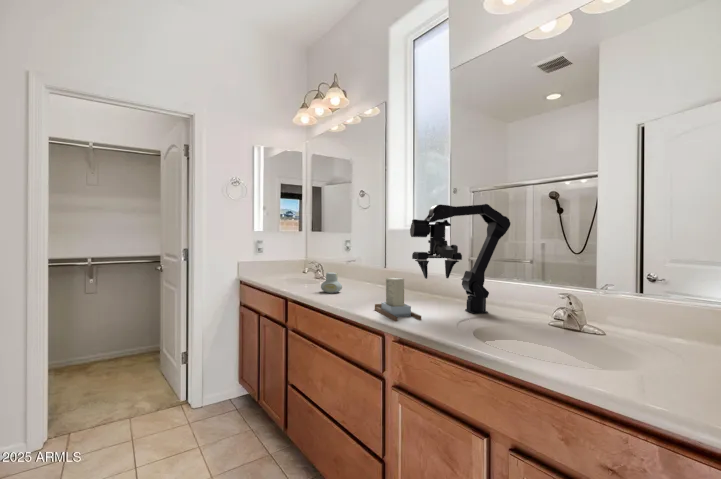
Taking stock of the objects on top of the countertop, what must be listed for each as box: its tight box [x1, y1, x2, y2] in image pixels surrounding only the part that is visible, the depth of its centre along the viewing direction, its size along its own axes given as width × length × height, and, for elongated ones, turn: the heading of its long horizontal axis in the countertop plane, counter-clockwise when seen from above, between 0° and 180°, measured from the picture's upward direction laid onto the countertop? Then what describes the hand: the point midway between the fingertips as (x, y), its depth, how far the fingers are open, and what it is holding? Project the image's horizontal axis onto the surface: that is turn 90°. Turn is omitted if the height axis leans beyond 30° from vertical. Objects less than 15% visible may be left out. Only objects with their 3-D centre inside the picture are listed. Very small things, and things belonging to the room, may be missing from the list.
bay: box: [374, 303, 422, 322], centre depth 129 cm, size 10×20×2 cm, turn 18°
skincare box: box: [385, 277, 405, 307], centre depth 129 cm, size 6×4×12 cm
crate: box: [380, 301, 412, 318], centre depth 129 cm, size 8×10×4 cm
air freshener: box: [320, 272, 343, 294], centre depth 180 cm, size 11×8×10 cm
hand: (436, 278), depth 135 cm, fingers open, 9 cm apart
